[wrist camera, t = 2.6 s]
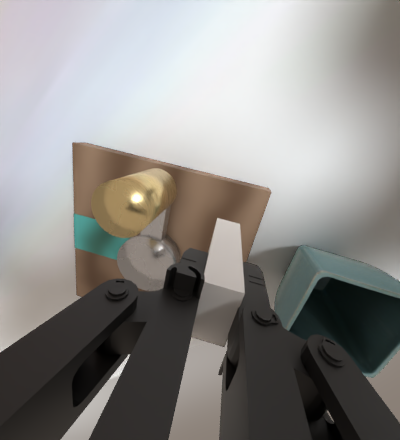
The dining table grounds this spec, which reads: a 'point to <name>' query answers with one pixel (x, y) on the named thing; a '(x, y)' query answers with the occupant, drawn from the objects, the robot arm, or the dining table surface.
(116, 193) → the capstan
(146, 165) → the base plate
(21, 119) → the dining table surface
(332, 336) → the flower pot
